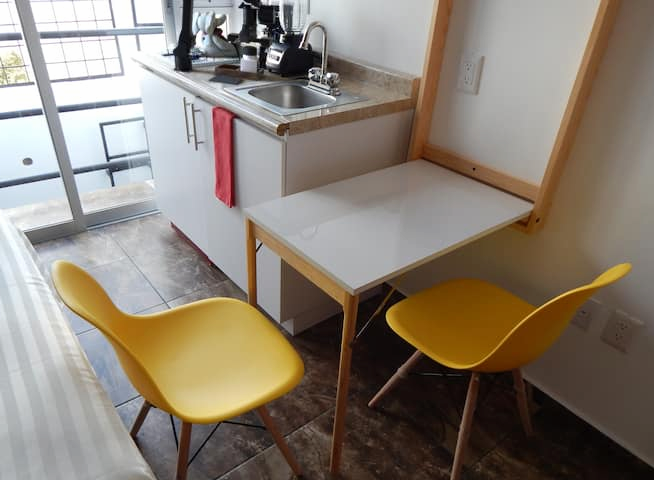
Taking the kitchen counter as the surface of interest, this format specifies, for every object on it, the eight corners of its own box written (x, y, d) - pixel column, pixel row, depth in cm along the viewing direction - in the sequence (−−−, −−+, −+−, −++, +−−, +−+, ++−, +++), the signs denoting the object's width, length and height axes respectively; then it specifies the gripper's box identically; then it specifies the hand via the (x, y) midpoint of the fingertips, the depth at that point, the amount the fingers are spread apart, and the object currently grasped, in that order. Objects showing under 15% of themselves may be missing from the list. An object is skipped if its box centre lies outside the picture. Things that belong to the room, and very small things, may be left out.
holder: (215, 74, 211) (214, 67, 209) (223, 70, 219) (223, 63, 218) (257, 80, 208) (257, 73, 207) (264, 75, 217) (264, 68, 215)
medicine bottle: (257, 78, 210) (257, 48, 203) (240, 76, 210) (240, 47, 203) (258, 74, 216) (259, 45, 209) (243, 73, 216) (242, 44, 209)
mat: (208, 80, 202) (208, 79, 202) (217, 76, 209) (216, 75, 209) (236, 84, 200) (236, 83, 200) (243, 79, 208) (243, 78, 207)
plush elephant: (223, 48, 259) (222, 5, 248) (248, 56, 247) (248, 11, 235) (179, 52, 243) (175, 5, 232) (203, 61, 231) (201, 12, 219)
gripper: (221, 21, 196) (222, 62, 204) (265, 26, 193) (264, 67, 202) (231, 18, 205) (231, 57, 213) (273, 23, 202) (272, 62, 211)
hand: (249, 61), depth 210 cm, fingers open, 9 cm apart
